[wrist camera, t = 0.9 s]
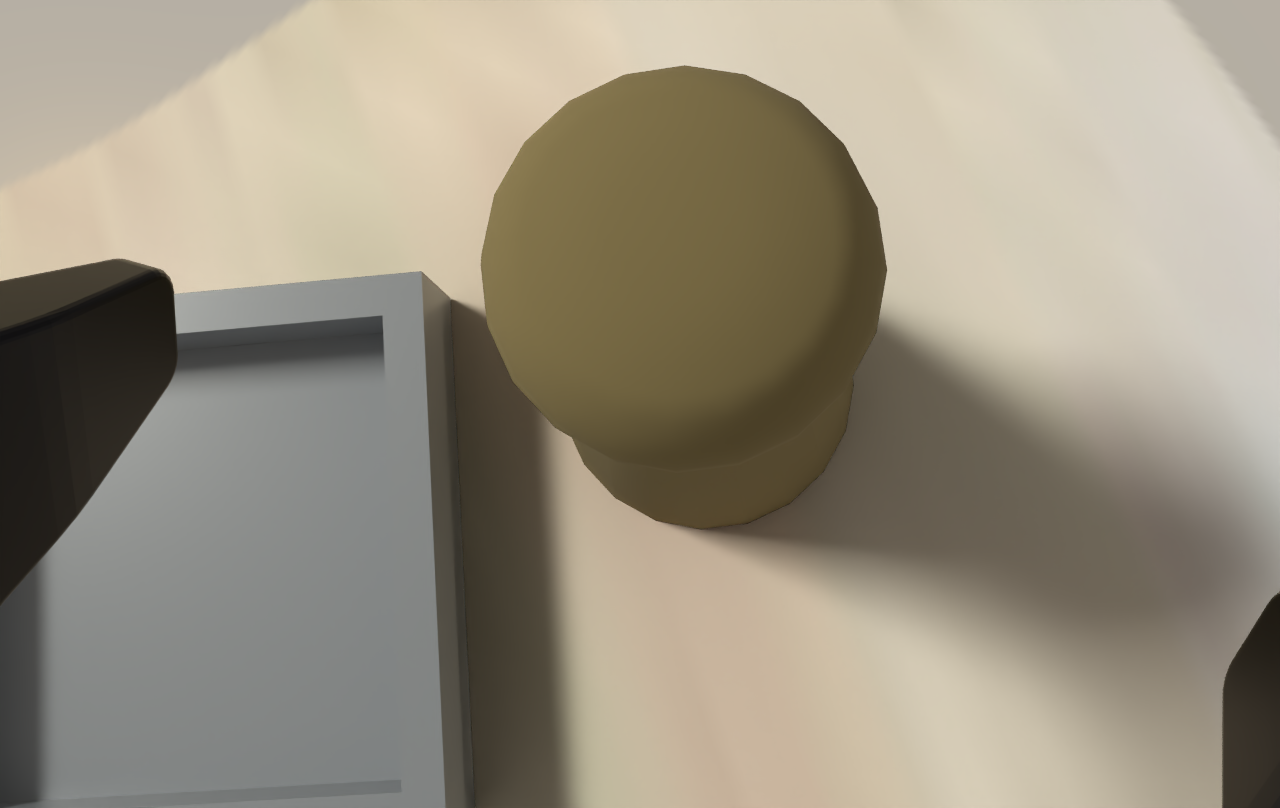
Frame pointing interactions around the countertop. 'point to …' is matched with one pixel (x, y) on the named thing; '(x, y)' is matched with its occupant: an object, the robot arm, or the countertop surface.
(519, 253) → the cork
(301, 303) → the grey tray
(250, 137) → the countertop surface
